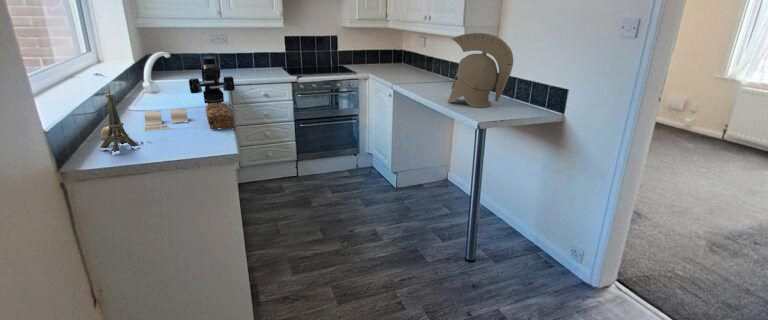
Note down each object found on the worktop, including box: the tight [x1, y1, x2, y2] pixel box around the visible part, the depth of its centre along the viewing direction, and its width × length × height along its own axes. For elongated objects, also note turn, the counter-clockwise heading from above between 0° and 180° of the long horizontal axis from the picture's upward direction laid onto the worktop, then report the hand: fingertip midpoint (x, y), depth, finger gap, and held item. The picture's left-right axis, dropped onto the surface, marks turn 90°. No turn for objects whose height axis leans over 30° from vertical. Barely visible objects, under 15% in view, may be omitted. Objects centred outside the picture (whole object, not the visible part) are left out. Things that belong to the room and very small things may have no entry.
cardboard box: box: [144, 123, 174, 132], centre depth 188 cm, size 9×17×2 cm, turn 116°
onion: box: [100, 123, 122, 140], centre depth 171 cm, size 8×8×7 cm
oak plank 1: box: [143, 110, 163, 126], centre depth 192 cm, size 8×6×2 cm
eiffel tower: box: [99, 82, 139, 152], centre depth 159 cm, size 11×11×25 cm
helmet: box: [447, 32, 514, 108], centre depth 246 cm, size 20×36×40 cm, turn 64°
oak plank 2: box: [170, 108, 189, 124], centre depth 196 cm, size 8×6×2 cm
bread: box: [205, 102, 235, 129], centre depth 193 cm, size 19×11×10 cm, turn 24°
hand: (212, 89), depth 188 cm, fingers open, 9 cm apart
